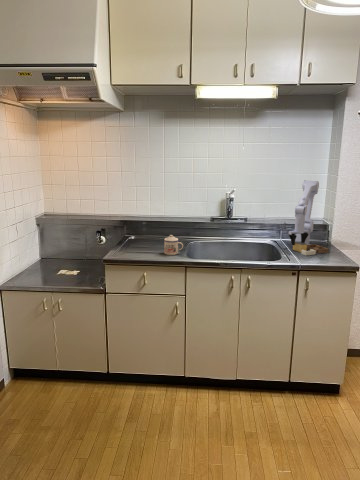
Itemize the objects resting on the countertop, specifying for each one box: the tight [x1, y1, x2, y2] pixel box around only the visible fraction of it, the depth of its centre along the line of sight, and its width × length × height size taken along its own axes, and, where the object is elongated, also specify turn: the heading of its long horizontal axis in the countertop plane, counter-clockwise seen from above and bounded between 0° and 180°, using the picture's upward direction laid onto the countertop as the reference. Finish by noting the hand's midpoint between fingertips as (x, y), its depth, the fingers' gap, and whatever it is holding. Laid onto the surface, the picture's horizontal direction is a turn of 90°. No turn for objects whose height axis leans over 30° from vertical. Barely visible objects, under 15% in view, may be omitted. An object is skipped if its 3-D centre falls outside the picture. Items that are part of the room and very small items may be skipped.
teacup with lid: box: [163, 234, 184, 256], centre depth 227 cm, size 12×9×12 cm
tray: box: [306, 243, 330, 254], centre depth 239 cm, size 13×9×2 cm
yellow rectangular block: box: [292, 241, 307, 253], centre depth 238 cm, size 9×4×5 cm, turn 21°
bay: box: [300, 249, 317, 256], centre depth 231 cm, size 4×8×2 cm, turn 111°
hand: (297, 244), depth 240 cm, fingers open, 7 cm apart
